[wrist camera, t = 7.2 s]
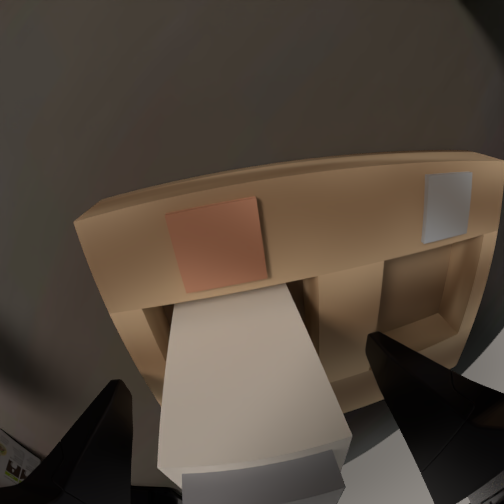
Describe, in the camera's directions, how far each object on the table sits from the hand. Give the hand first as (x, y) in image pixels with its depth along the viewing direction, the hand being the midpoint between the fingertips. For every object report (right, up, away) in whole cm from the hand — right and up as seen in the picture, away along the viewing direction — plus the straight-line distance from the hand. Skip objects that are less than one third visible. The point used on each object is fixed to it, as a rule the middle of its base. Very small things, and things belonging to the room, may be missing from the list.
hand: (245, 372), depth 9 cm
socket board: (+4, +2, +3) cm, 5 cm away
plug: (0, +1, +2) cm, 3 cm away
